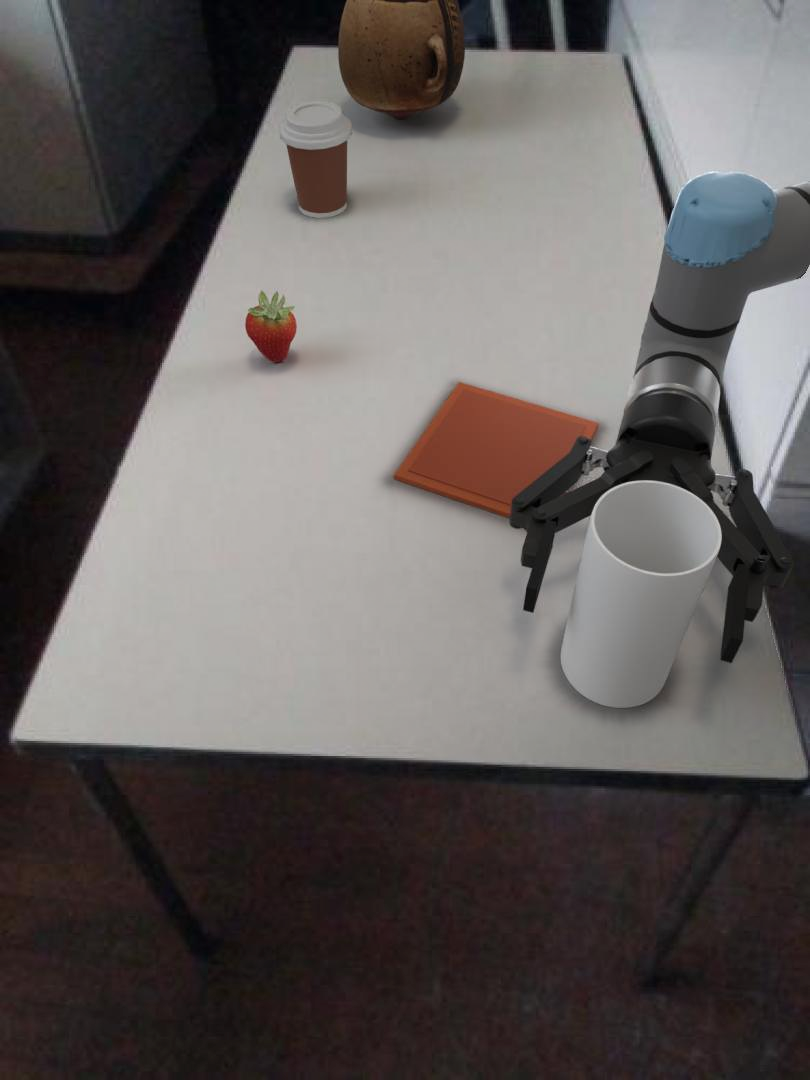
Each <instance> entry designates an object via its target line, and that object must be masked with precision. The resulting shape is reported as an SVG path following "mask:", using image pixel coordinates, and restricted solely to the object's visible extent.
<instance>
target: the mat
mask: <svg viewBox="0 0 810 1080" xmlns="http://www.w3.org/2000/svg"><path fill="white" fill-rule="evenodd" d="M437 411H438V412H437V413H436V414H435V416H433V418H432V420H431V421H430V423H429V424H428V425H427V427H426V428H425V430H424V431H423V433H422V434H421V435H420V436H419V439H418V440H417V441H416V443H415V444H414V445H413V447H412V448H411V450H410V451H409V453H408V454H407V455H406V457H405V458H404V460H403V461H402V463H401V464H400V466H398V468H397V470H396V471H395V472H394V473H393V479H394V480H395V481H399V482H401V483H405V484H407V485H411V486H414V487H416V488H420V489H423V490H425V491H428V492H431V493H434V494H437V495H440V496H443V497H446V498H449V499H452V500H454V501H458V502H460V503H463V504H466V505H470V506H472V507H474V508H475V507H476V508H477V509H478V508H479V509H481V510H484V511H487V512H490V513H493V514H495V515H499V516H501V517H504V518H507V519H510V510H511V502H512V499H513V498H514V497H515V496H516V495H517V494H519V493H520V492H521V491H522V490H523V489H525V488H526V487H527V486H528V485H530V484H531V483H532V482H533V481H535V480H536V479H537V478H538V477H540V476H541V475H542V474H543V473H545V472H546V471H547V470H548V469H550V468H551V467H552V466H553V465H555V464H556V463H557V462H558V461H560V460H561V459H562V458H563V457H565V456H566V455H567V454H568V453H570V451H571V449H572V447H573V445H574V443H575V441H576V439H577V438H578V437H580V436H586V437H588V438H589V439H590V440H591V441H592V440H593V439H594V436H595V434H596V432H597V431H598V428H599V424H600V423H599V422H596V421H593V420H590V419H586V418H583V417H579V416H576V415H573V414H570V413H566V412H562V411H559V410H556V409H552V408H549V407H545V406H542V405H539V404H535V403H532V402H528V401H525V400H522V399H519V398H515V397H512V396H508V395H505V394H502V393H498V392H495V391H491V390H489V389H485V388H483V387H482V388H481V387H477V386H474V385H472V384H468V383H464V382H462V381H459V382H458V383H457V384H456V386H455V387H454V389H453V390H452V392H451V393H450V395H449V396H448V397H447V398H446V400H445V401H444V403H443V404H442V406H441V407H440V408H439V410H437ZM564 494H566V492H564V493H563V494H562V495H564ZM562 495H561V496H562Z"/></svg>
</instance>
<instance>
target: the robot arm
mask: <svg viewBox="0 0 810 1080" xmlns="http://www.w3.org/2000/svg"><path fill="white" fill-rule="evenodd" d="M673 207H674V208H673V209H672V211H671V215H670V219H669V222H668V225H667V227H666V228H665V229H666V230H665V232H664V237H663V240H664V242H663V248H662V252H661V253H662V254H661V258H660V263H659V268H658V274H657V279H656V282H655V288H654V293H653V295H652V298H651V301H650V303H649V307H648V312H647V316H646V320H645V322H644V326H643V327H644V328H643V330H642V331H643V332H642V334H641V338H640V345H639V350H638V354H637V359H636V364H635V369H634V374H633V377H632V380H631V382H630V385H629V388H628V394H627V397H626V402H625V404H624V405H625V406H624V409H623V415H622V418H621V421H620V426H619V430H618V432H617V433H618V434H617V437H616V440H615V445H614V446H613V447H612V448H610V449H609V450H605V449H601V448H597V447H594V446H591V444H592V440H590V439H589V438H588V437H586V436H580V437H578V438H577V439H576V441H575V443H574V445H573V447H572V449H571V451H570V453H568V454H567V455H566V456H565V457H563V458H562V459H561V460H560V461H558V462H557V463H556V464H555V465H553V466H552V467H551V468H550V469H548V470H547V471H546V472H545V473H543V474H542V475H541V476H540V477H538V478H537V479H536V480H535V481H533V482H532V483H531V484H530V485H528V486H527V487H526V488H525V489H523V490H522V491H521V492H520V493H519V494H517V495H516V496H515V497H514V498H513V499H512V502H511V510H510V518H509V522H508V524H509V526H510V527H511V528H513V529H516V530H519V529H523V530H524V531H525V532H526V534H525V537H524V541H523V544H522V547H521V554H520V565H521V567H524V568H529V569H531V570H530V574H529V577H528V580H527V584H526V587H525V594H524V599H523V600H524V601H523V607H522V611H524V612H528V613H532V614H534V612H535V608H536V605H537V602H538V598H539V595H540V590H541V588H542V584H543V580H544V577H545V574H546V571H547V567H548V564H549V560H550V557H551V553H552V550H553V547H554V541H555V536H556V533H558V532H561V531H563V530H564V529H567V528H569V527H570V526H572V525H575V524H577V523H579V522H580V521H583V520H585V519H587V518H589V517H591V514H592V511H593V509H594V506H595V504H596V503H597V501H598V500H599V498H600V497H601V496H602V495H603V494H604V493H606V492H607V491H608V490H610V489H612V488H613V487H616V486H618V485H620V484H624V483H627V482H632V481H643V480H648V481H659V482H664V483H669V484H672V485H675V486H678V487H681V488H683V489H685V490H687V491H689V492H691V493H692V494H694V495H696V496H697V497H698V498H700V499H701V500H702V501H703V502H705V503H706V504H707V505H708V506H709V508H710V509H711V510H712V511H713V513H714V514H715V516H716V518H717V519H718V522H719V524H720V528H721V533H722V540H721V546H720V549H719V553H718V555H717V559H718V560H719V561H720V562H721V564H722V565H723V566H724V567H725V569H727V571H728V572H729V573H730V574H731V575H732V578H731V580H730V582H729V584H728V587H727V593H726V594H727V595H726V604H725V611H724V620H723V621H724V622H723V631H722V640H721V648H720V656H719V661H721V662H725V663H728V664H729V663H730V664H732V663H733V661H734V659H735V657H736V655H737V653H738V652H739V650H740V647H741V645H742V643H743V641H744V633H745V632H744V631H745V622H750V623H753V622H754V621H755V619H756V618H757V616H758V614H759V613H760V610H761V608H762V607H763V596H764V595H763V594H764V587H765V586H766V587H767V586H768V587H769V588H770V589H773V590H780V589H782V588H783V587H784V585H785V583H786V581H787V579H788V577H789V576H790V574H791V571H792V569H794V567H795V566H794V565H795V562H794V559H793V557H792V556H791V554H790V552H789V551H788V549H787V547H786V545H785V544H784V542H783V540H782V538H781V536H780V535H779V533H778V531H777V529H776V528H775V526H774V524H773V523H772V521H771V519H770V517H769V515H768V513H767V512H766V510H765V508H764V506H763V505H762V503H761V501H760V499H759V497H758V496H757V494H756V492H755V490H754V489H755V487H754V476H753V473H752V472H751V471H750V470H748V469H746V468H745V469H744V468H741V469H738V470H737V471H736V473H735V476H733V475H728V474H727V475H724V474H718V473H716V472H715V470H714V469H713V467H712V456H713V448H714V442H715V435H716V426H717V422H718V414H719V406H720V397H721V391H722V383H723V379H724V373H725V367H726V363H727V359H728V355H729V352H730V349H731V346H732V343H733V340H734V337H735V334H736V331H737V328H738V325H739V323H740V321H741V317H742V315H743V312H744V309H745V306H746V303H747V301H748V297H749V296H750V294H752V293H755V292H758V291H762V290H765V289H768V288H772V287H775V286H779V285H783V284H785V283H789V282H793V281H795V280H800V279H802V278H803V277H802V276H803V275H804V274H805V273H806V271H807V269H808V267H809V265H810V180H807V181H804V182H800V183H797V184H792V185H790V186H785V187H781V188H776V189H773V188H772V187H771V186H770V185H769V184H768V183H766V181H764V180H763V179H760V178H758V177H757V176H754V175H750V174H748V173H744V172H738V171H729V172H720V171H716V170H715V171H709V172H705V173H702V174H699V175H696V176H694V177H693V178H691V179H690V180H689V181H687V182H686V183H685V184H684V185H683V186H682V187H681V189H680V190H679V193H678V195H677V198H676V201H675V204H674V206H673ZM801 277H802V278H801ZM799 278H800V279H799ZM596 468H603V473H602V474H601V475H600V477H597V478H595V479H593V480H591V481H589V482H587V483H585V484H583V485H581V486H579V487H577V488H575V489H572V490H571V491H568V490H569V489H571V488H572V487H573V486H574V485H575V484H576V483H577V482H578V481H579V480H580V479H581V477H582V476H585V477H586V476H589V475H590V473H591V472H593V471H594V470H595V469H596ZM567 491H568V492H567ZM564 492H565V493H564ZM566 492H567V493H566ZM713 492H715V493H717V494H718V495H719V497H720V499H721V500H722V501H721V504H722V506H724V507H728V512H729V515H730V517H731V519H732V520H731V519H730V518H729V516H727V514H726V513H724V511H723V510H722V509H721V508H720V506H718V505H717V503H716V502H715V500H714V494H713ZM563 493H564V495H562V494H563ZM561 495H562V496H561Z"/></svg>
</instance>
